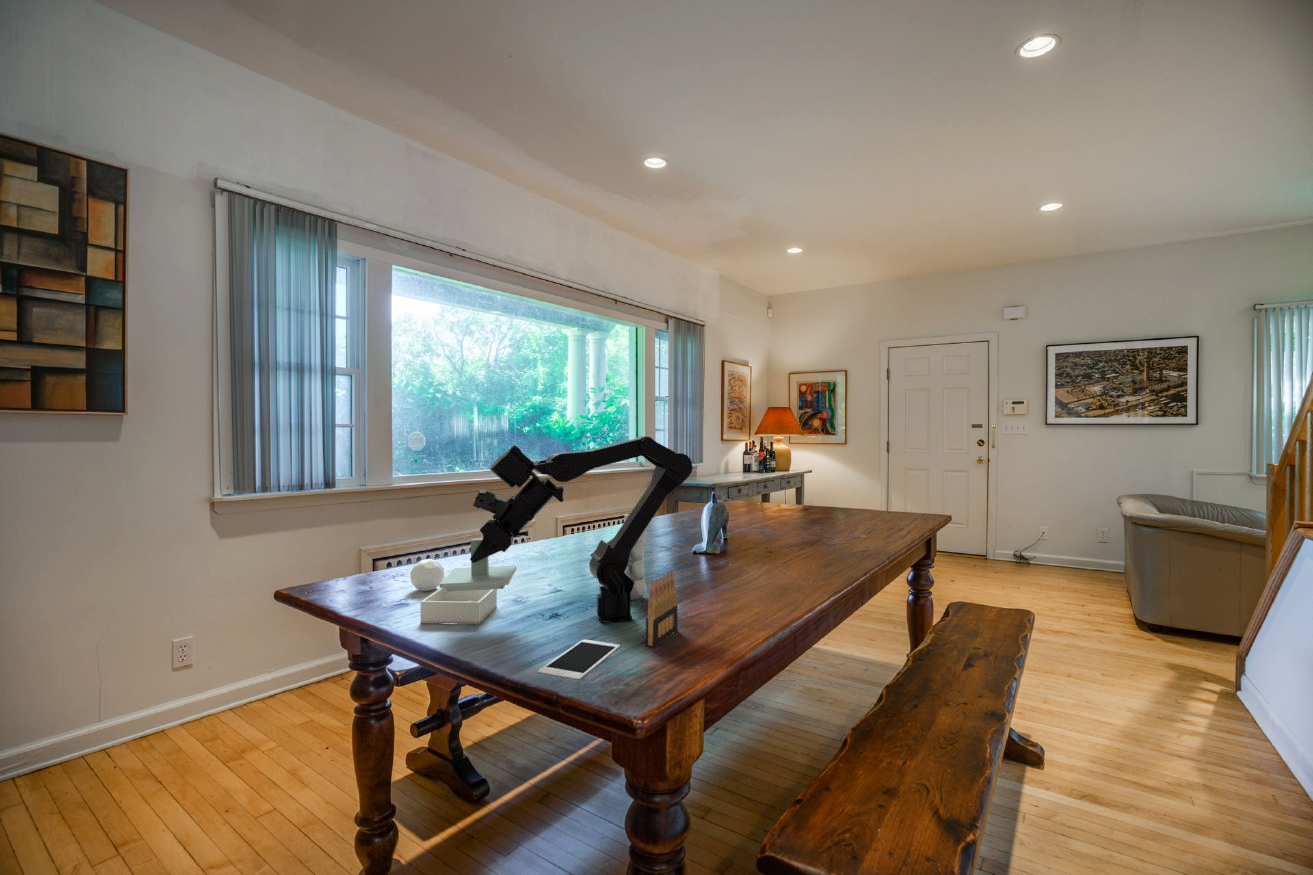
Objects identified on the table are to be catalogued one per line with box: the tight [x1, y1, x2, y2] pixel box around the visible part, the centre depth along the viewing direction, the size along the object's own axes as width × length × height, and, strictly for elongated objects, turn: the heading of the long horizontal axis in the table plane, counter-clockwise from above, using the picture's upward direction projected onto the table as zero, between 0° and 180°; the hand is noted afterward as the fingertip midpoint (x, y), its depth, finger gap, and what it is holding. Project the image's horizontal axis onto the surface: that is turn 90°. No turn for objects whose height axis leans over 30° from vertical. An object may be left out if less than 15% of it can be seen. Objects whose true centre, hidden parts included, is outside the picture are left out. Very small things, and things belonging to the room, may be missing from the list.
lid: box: [439, 537, 517, 592], centre depth 117 cm, size 13×13×9 cm
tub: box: [420, 587, 498, 626], centre depth 125 cm, size 12×12×4 cm
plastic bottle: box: [623, 512, 647, 601], centre depth 138 cm, size 6×7×20 cm
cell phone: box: [537, 639, 621, 681], centre depth 102 cm, size 8×16×1 cm, turn 159°
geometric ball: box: [409, 558, 445, 592], centre depth 144 cm, size 8×8×8 cm
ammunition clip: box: [645, 570, 678, 648], centre depth 112 cm, size 11×2×12 cm, turn 155°
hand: (472, 560), depth 117 cm, fingers closed on lid
